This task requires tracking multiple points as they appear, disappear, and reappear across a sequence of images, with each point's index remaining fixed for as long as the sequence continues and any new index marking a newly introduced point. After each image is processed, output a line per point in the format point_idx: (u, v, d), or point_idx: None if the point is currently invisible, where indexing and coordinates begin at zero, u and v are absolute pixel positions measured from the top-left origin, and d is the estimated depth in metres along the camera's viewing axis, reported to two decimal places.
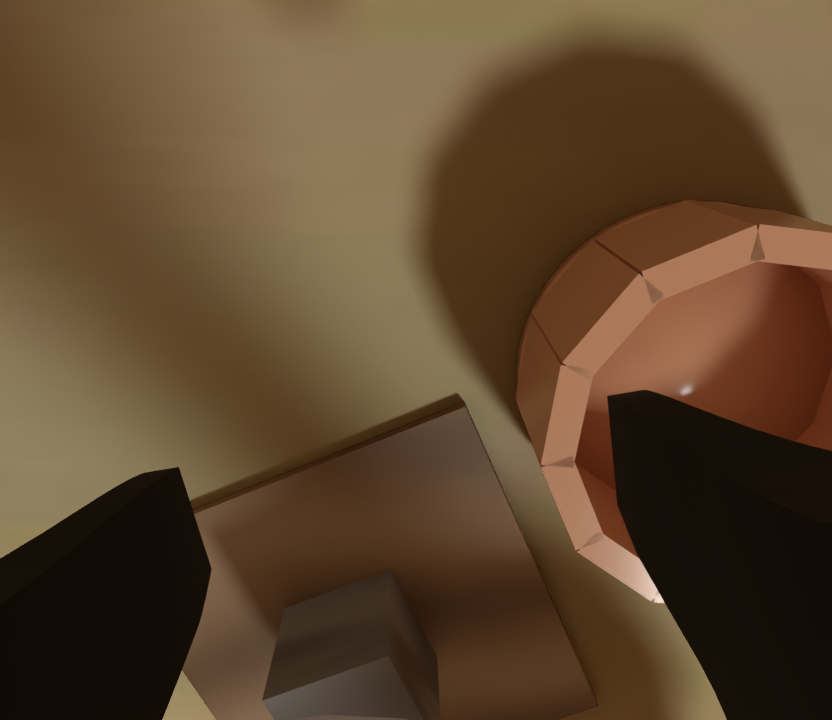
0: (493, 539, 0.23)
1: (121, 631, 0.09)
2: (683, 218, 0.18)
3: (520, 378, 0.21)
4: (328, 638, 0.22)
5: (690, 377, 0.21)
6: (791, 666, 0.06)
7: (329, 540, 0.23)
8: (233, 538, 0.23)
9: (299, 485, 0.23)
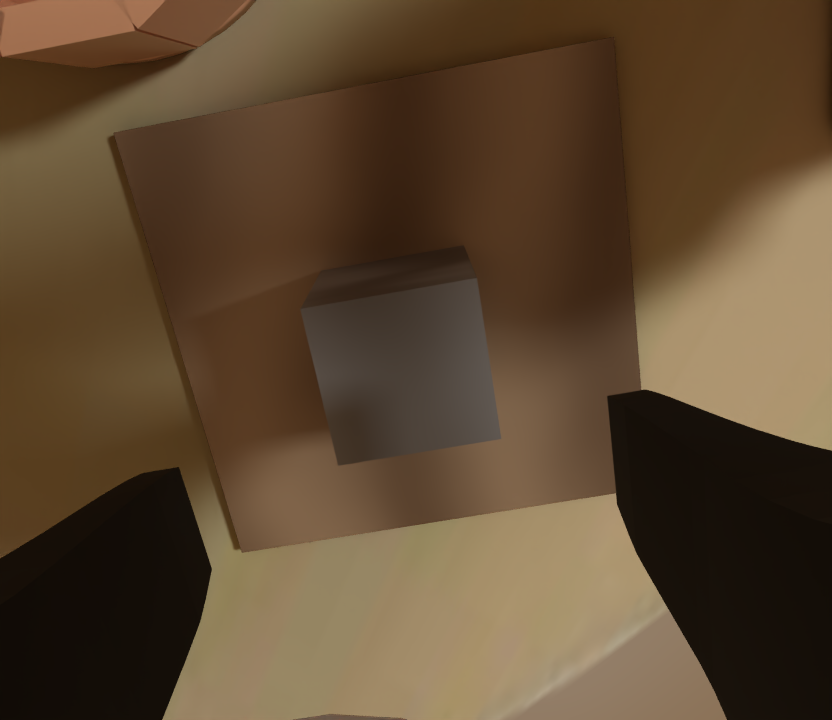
0: (302, 136, 0.18)
1: (121, 631, 0.09)
2: None
3: None
4: None
5: None
6: (791, 666, 0.06)
7: (269, 329, 0.20)
8: (248, 426, 0.21)
9: (192, 342, 0.20)
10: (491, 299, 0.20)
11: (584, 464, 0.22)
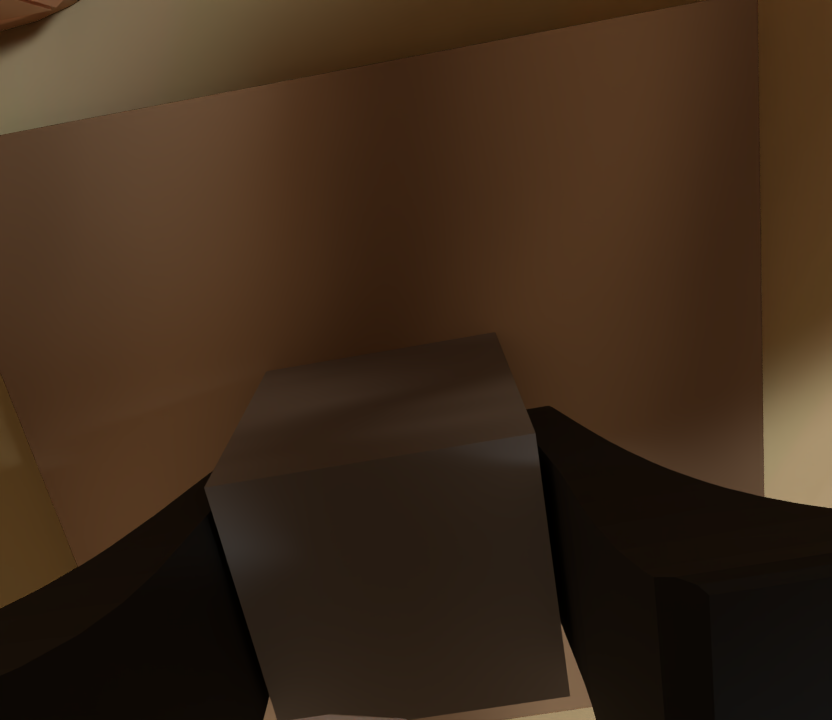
0: (229, 158, 0.11)
1: (234, 613, 0.09)
2: None
3: None
4: None
5: None
6: (622, 691, 0.06)
7: (186, 459, 0.13)
8: None
9: (67, 479, 0.13)
10: None
11: None
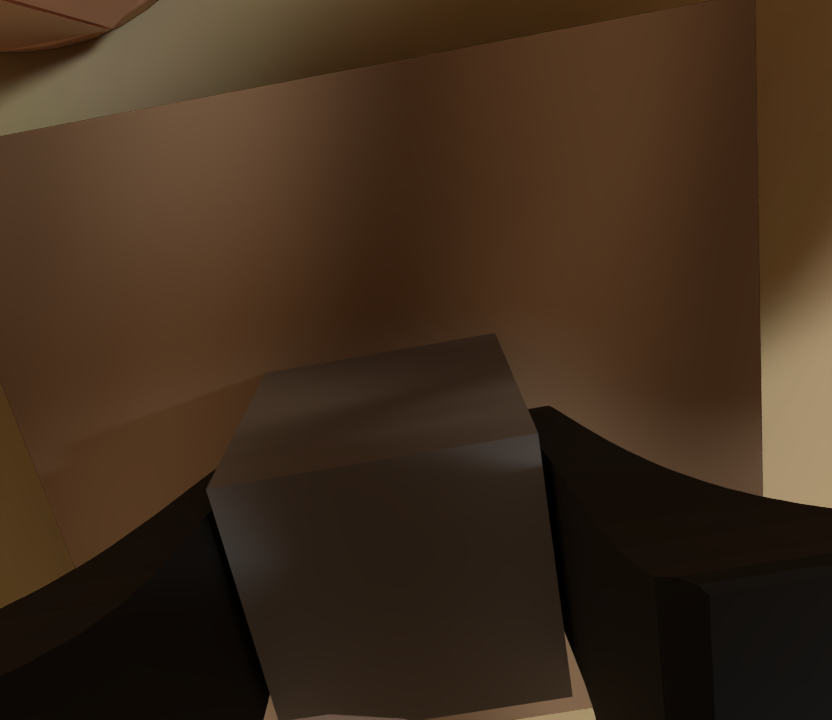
0: (229, 159, 0.11)
1: (234, 613, 0.09)
2: None
3: None
4: None
5: None
6: (622, 691, 0.06)
7: (185, 462, 0.13)
8: None
9: (64, 482, 0.13)
10: None
11: None
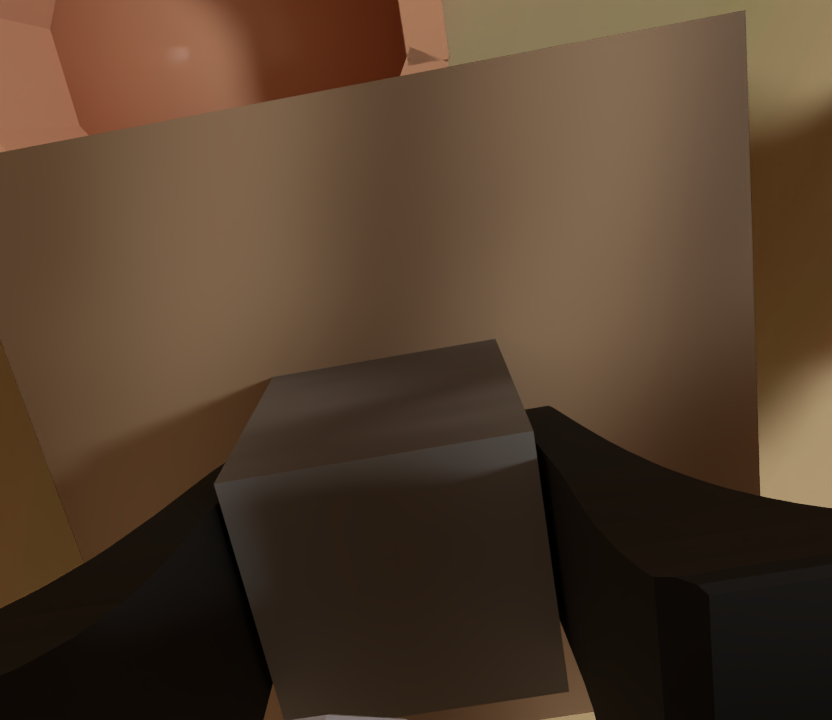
0: (238, 170, 0.12)
1: (234, 613, 0.09)
2: None
3: None
4: None
5: (234, 46, 0.17)
6: (622, 690, 0.06)
7: (194, 464, 0.13)
8: None
9: (77, 483, 0.13)
10: None
11: None
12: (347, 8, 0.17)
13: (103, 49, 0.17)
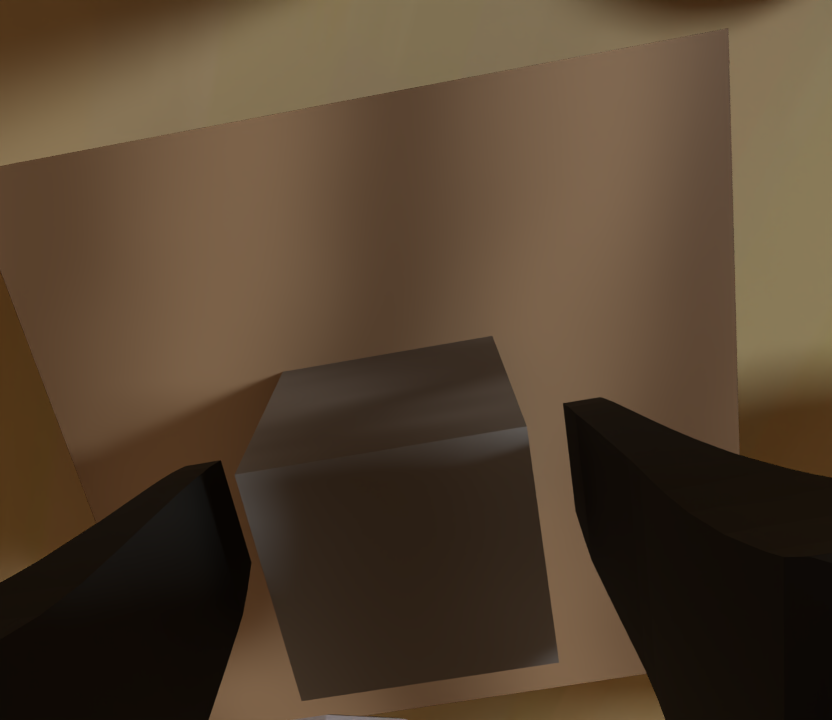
0: (251, 178, 0.12)
1: (173, 623, 0.09)
2: None
3: None
4: None
5: None
6: (712, 678, 0.06)
7: (208, 453, 0.14)
8: None
9: (98, 471, 0.14)
10: (531, 412, 0.14)
11: None
12: None
13: None
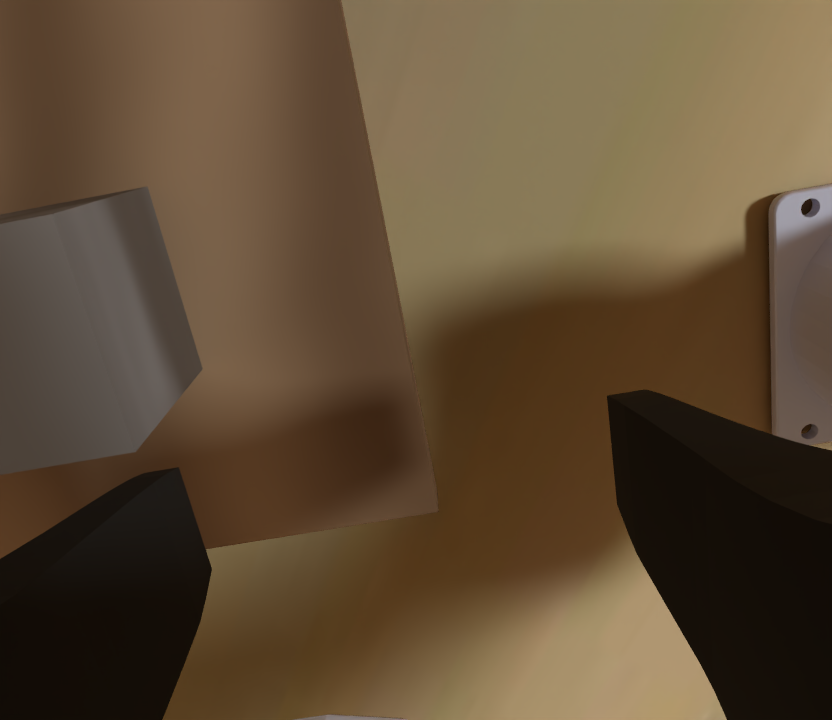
0: None
1: (121, 631, 0.09)
2: None
3: None
4: None
5: None
6: (791, 666, 0.06)
7: None
8: None
9: None
10: (196, 262, 0.15)
11: (350, 481, 0.17)
12: None
13: None
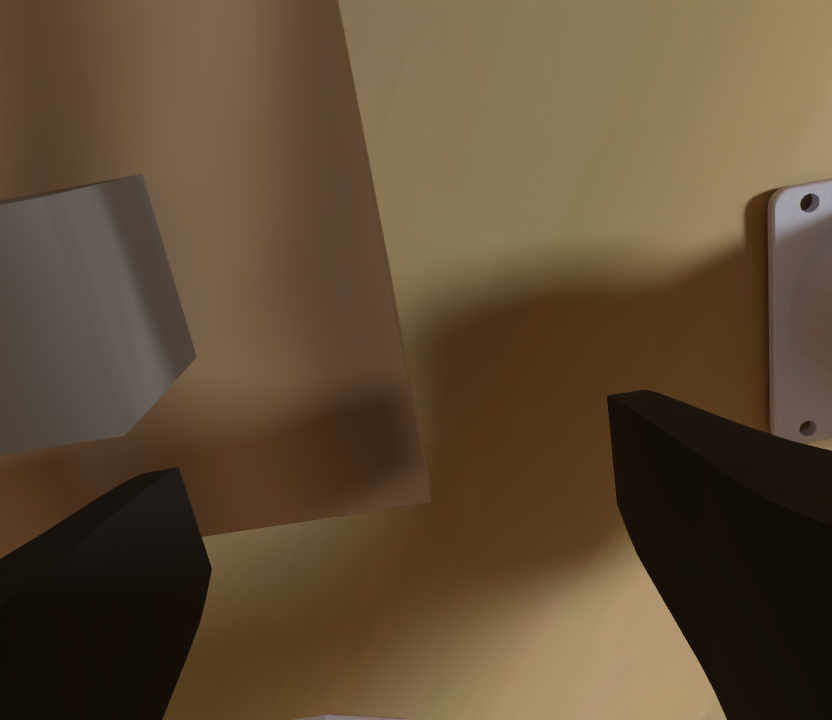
0: None
1: (121, 631, 0.09)
2: None
3: None
4: None
5: None
6: (791, 666, 0.06)
7: None
8: None
9: None
10: (191, 249, 0.15)
11: (343, 471, 0.17)
12: None
13: None
